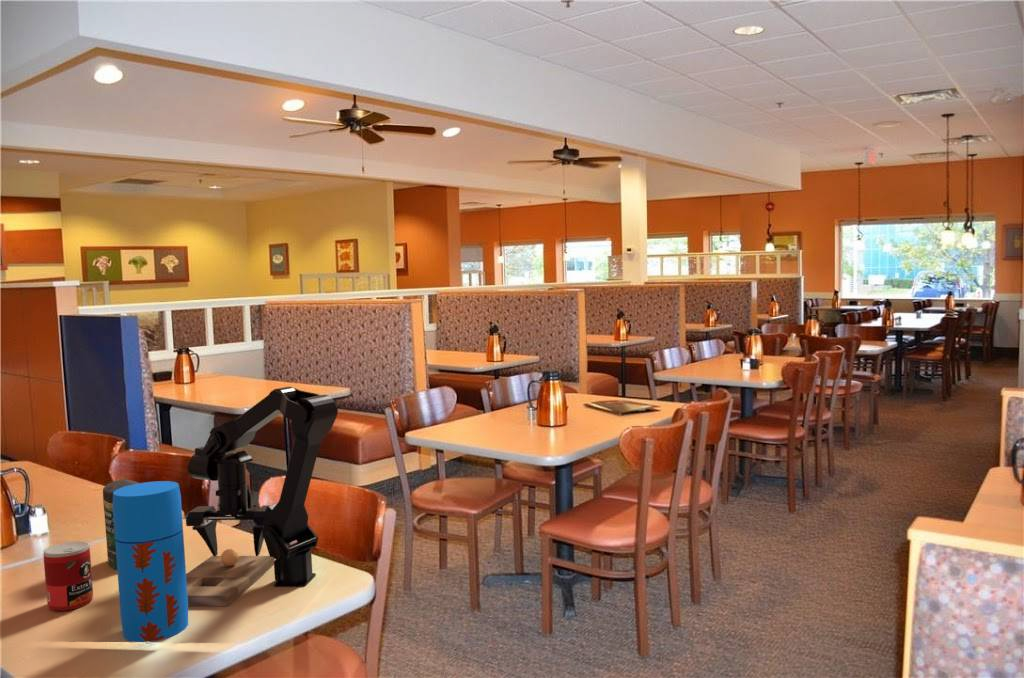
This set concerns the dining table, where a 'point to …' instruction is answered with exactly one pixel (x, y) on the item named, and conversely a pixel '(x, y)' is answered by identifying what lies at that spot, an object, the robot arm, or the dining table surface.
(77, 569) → the canned food
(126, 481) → the coffee jar
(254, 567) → the board
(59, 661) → the dining table surface
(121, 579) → the thermos
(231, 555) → the ball
